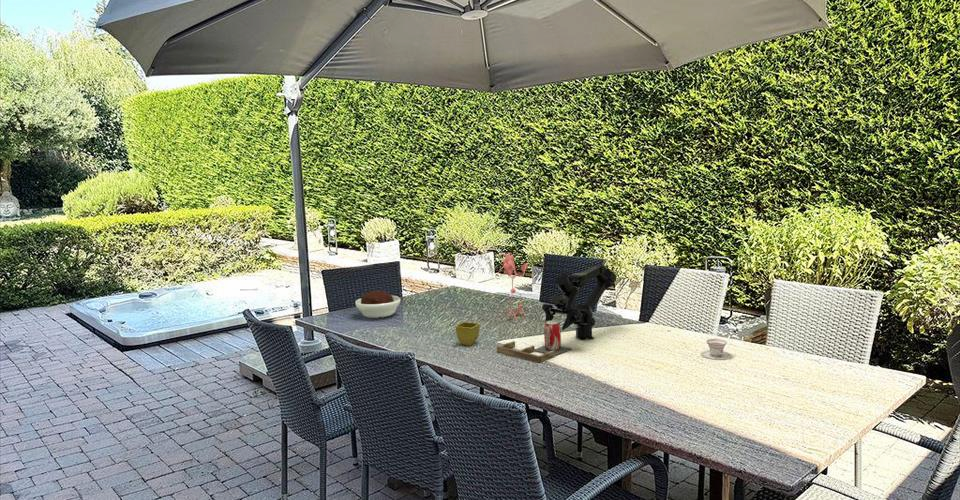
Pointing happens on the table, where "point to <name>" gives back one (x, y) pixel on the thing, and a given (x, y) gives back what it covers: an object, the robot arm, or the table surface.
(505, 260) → the figurine
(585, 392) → the table surface
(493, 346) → the table surface
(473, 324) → the flower pot
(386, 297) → the white dessert bowl
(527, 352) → the shelf lanes
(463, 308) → the table surface
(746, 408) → the table surface
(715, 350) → the teacup
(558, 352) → the rubber mat
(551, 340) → the soda can
